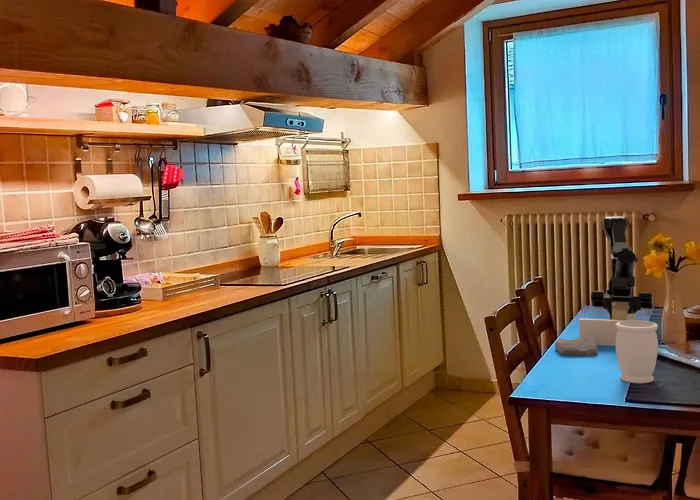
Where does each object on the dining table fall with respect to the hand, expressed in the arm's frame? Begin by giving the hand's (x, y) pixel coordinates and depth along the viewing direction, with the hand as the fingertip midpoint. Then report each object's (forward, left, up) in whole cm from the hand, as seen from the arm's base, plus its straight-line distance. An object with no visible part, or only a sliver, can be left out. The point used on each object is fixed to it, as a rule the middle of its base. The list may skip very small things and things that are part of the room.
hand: (619, 321), depth 236 cm
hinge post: (+6, +4, -7) cm, 10 cm away
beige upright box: (+5, -4, -7) cm, 9 cm away
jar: (+43, +9, -7) cm, 44 cm away
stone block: (+17, -10, -7) cm, 21 cm away
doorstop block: (-1, 0, -7) cm, 7 cm away
